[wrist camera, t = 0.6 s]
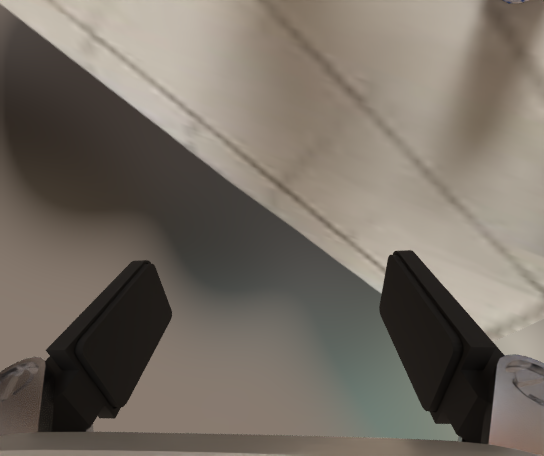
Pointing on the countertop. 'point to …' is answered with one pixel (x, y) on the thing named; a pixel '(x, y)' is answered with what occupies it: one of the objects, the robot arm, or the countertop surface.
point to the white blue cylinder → (515, 1)
